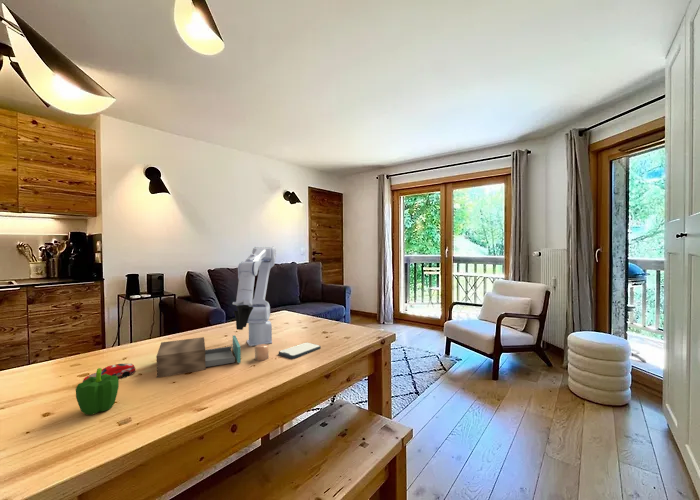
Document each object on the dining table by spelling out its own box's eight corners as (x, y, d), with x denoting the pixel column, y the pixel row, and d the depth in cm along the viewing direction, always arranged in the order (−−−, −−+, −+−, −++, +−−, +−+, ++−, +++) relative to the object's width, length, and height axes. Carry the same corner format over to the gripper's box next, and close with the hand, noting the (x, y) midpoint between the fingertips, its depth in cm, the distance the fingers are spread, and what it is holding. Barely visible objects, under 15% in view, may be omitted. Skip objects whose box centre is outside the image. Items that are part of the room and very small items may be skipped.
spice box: (204, 354, 118) (203, 337, 118) (205, 369, 104) (205, 349, 104) (161, 361, 112) (161, 342, 112) (156, 377, 98) (156, 356, 98)
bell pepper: (108, 416, 75) (107, 375, 75) (68, 420, 73) (68, 379, 73) (125, 400, 83) (125, 363, 83) (90, 403, 82) (90, 365, 82)
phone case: (306, 345, 131) (276, 355, 118) (306, 341, 131) (276, 351, 118) (322, 349, 126) (292, 360, 113) (322, 345, 126) (292, 356, 113)
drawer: (235, 349, 123) (235, 335, 123) (240, 362, 109) (240, 346, 109) (196, 355, 117) (196, 340, 117) (197, 370, 103) (197, 352, 103)
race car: (84, 389, 90) (84, 376, 90) (80, 384, 94) (80, 371, 94) (137, 375, 100) (137, 362, 100) (132, 370, 104) (131, 359, 104)
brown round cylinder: (267, 355, 118) (266, 343, 118) (269, 359, 113) (269, 347, 113) (254, 357, 115) (253, 345, 115) (256, 361, 111) (256, 349, 111)
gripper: (232, 294, 122) (227, 330, 117) (236, 285, 109) (231, 324, 104) (250, 296, 124) (246, 331, 119) (257, 288, 112) (253, 326, 107)
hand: (241, 328), depth 112 cm, fingers open, 7 cm apart
